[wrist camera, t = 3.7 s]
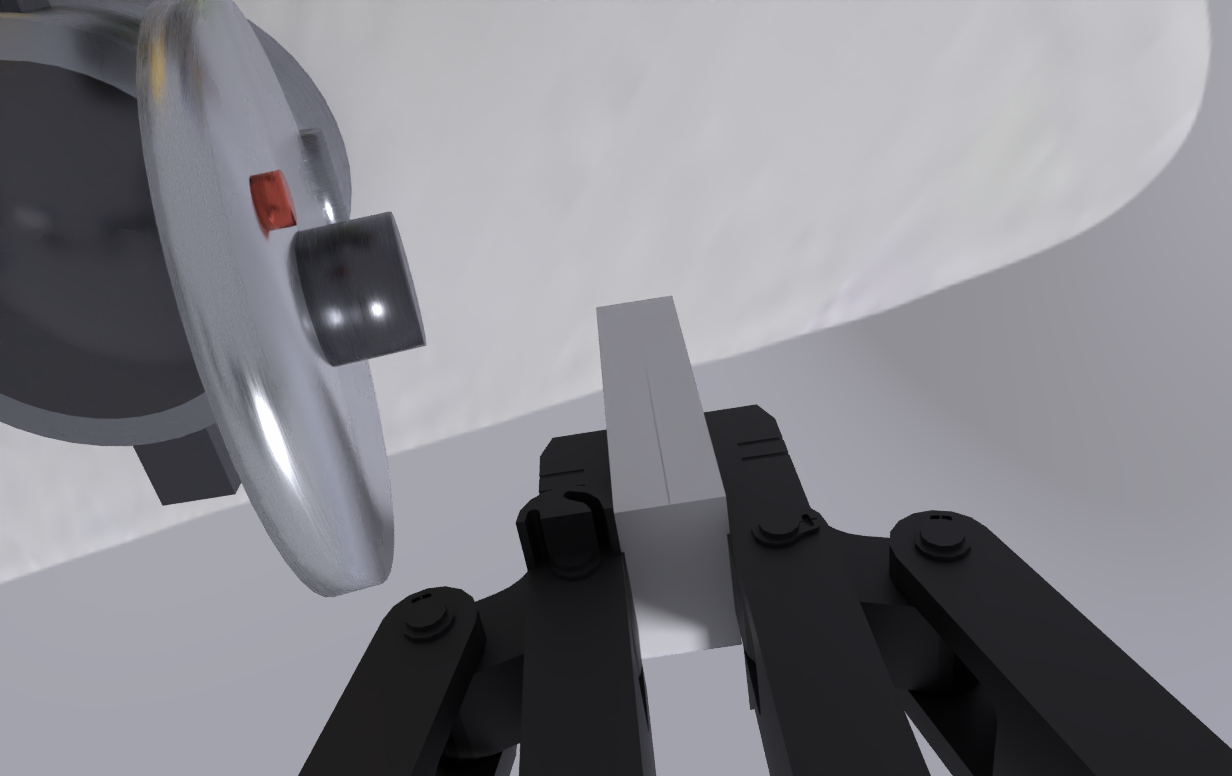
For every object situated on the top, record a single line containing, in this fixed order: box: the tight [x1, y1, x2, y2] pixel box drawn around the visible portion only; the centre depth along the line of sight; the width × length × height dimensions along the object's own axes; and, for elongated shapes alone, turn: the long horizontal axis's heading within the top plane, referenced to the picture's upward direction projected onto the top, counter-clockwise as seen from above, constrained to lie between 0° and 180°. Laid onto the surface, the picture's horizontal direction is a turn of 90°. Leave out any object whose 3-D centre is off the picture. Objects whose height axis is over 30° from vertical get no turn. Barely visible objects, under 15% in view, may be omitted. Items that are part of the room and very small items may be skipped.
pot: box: [0, 0, 352, 506], centre depth 35 cm, size 17×22×10 cm
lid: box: [136, 0, 426, 597], centre depth 24 cm, size 15×15×4 cm
